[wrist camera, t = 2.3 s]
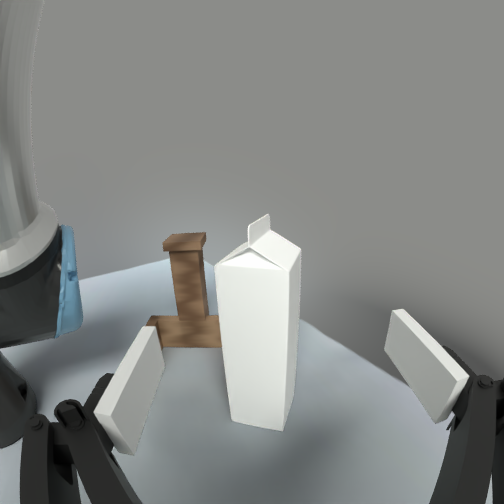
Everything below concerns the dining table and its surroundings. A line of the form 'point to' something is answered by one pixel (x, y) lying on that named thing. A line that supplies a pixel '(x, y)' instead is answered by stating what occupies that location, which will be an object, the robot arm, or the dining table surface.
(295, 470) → the dining table surface
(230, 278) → the milk
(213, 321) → the post bracket
